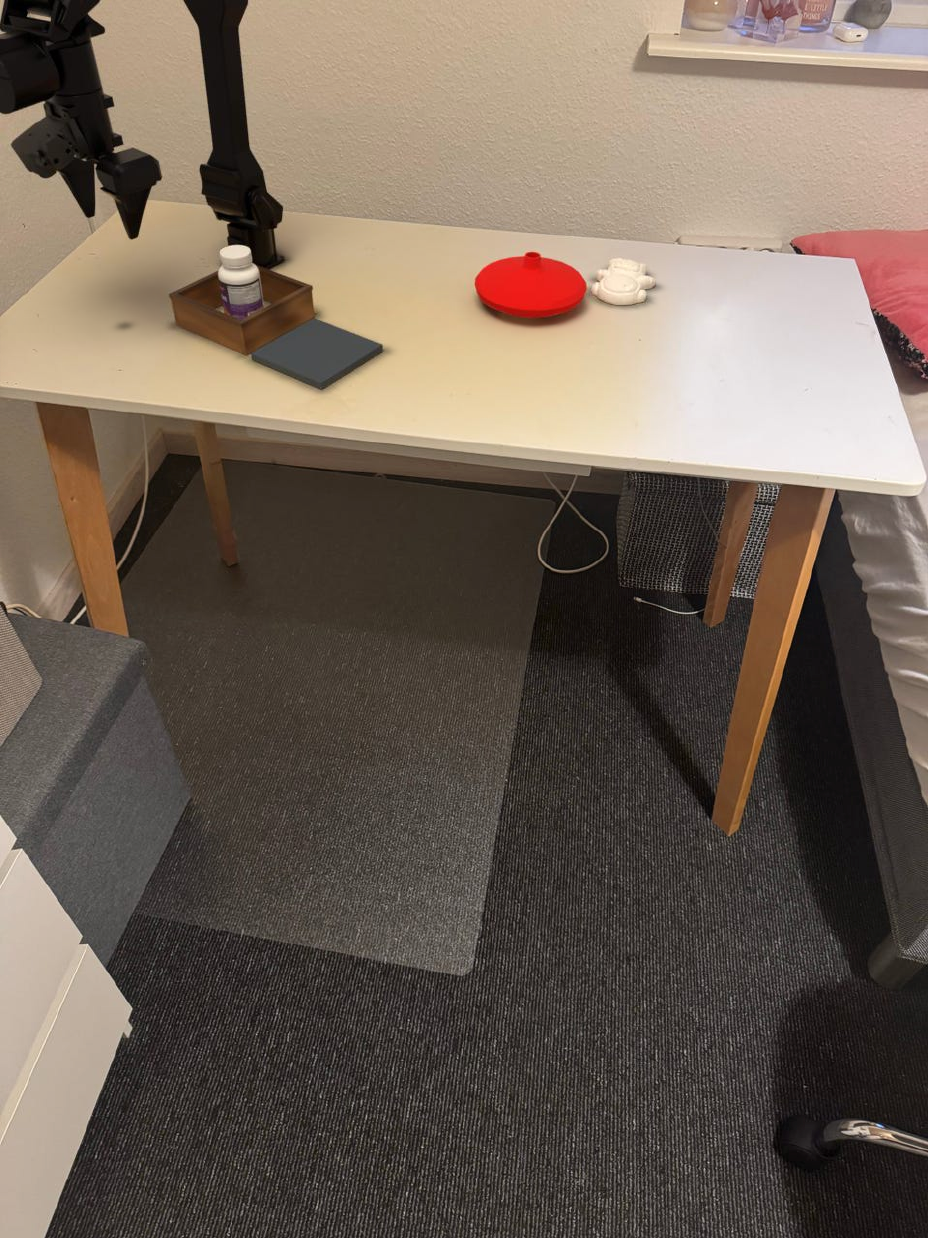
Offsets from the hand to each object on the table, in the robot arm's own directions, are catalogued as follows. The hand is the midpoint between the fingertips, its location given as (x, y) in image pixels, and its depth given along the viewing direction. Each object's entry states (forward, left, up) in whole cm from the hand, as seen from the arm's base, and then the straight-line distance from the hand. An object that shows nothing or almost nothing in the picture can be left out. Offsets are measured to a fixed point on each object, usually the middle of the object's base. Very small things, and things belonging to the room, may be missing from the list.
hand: (111, 227), depth 116 cm
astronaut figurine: (-52, +45, -14) cm, 70 cm away
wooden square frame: (-11, +9, -14) cm, 20 cm away
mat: (-10, +23, -14) cm, 29 cm away
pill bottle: (-11, +9, -14) cm, 20 cm away
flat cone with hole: (-39, +37, -14) cm, 56 cm away
